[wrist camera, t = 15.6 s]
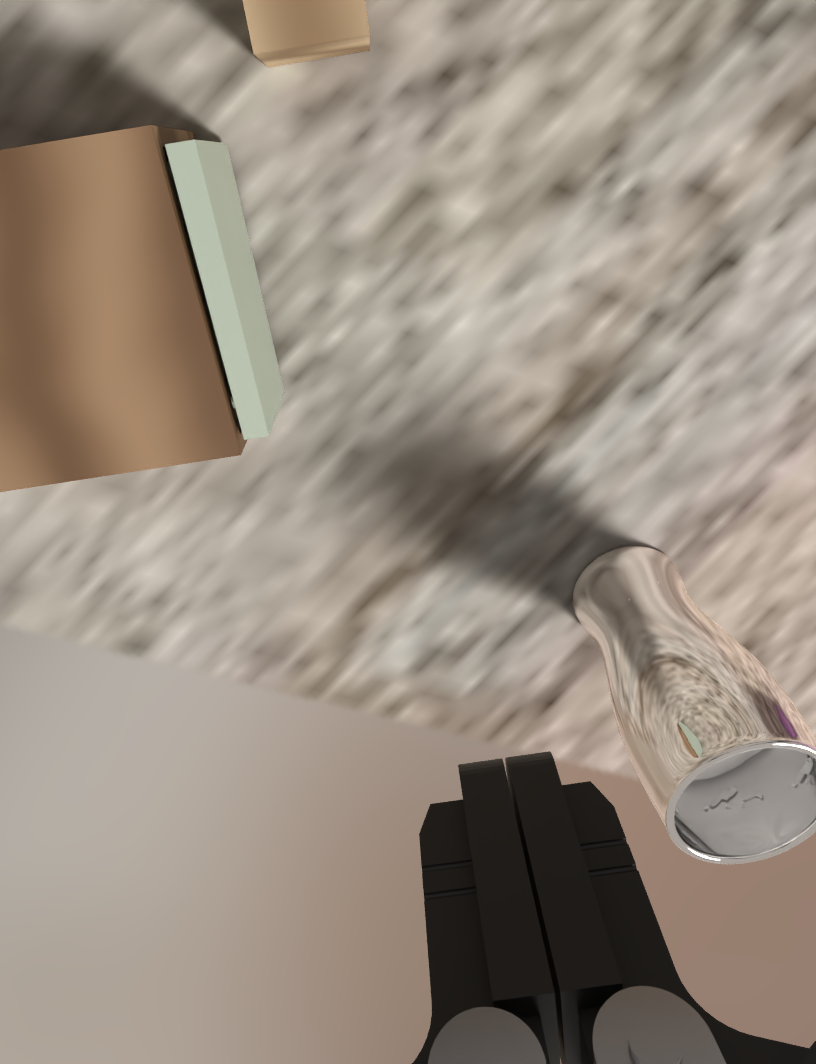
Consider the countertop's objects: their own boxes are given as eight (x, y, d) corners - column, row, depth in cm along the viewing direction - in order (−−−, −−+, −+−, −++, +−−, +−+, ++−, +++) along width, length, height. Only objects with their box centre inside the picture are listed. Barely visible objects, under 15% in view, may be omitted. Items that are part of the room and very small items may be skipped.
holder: (192, 131, 28) (150, 125, 23) (261, 407, 34) (240, 454, 28) (-98, 179, 29) (-208, 184, 23) (16, 445, 34) (-51, 499, 29)
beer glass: (709, 595, 40) (876, 809, 27) (606, 662, 42) (715, 892, 29) (646, 513, 38) (797, 705, 24) (539, 587, 39) (625, 804, 26)
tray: (226, 142, 28) (194, 139, 23) (284, 392, 33) (268, 435, 28) (-72, 192, 29) (-169, 199, 24) (29, 432, 34) (-33, 482, 28)
